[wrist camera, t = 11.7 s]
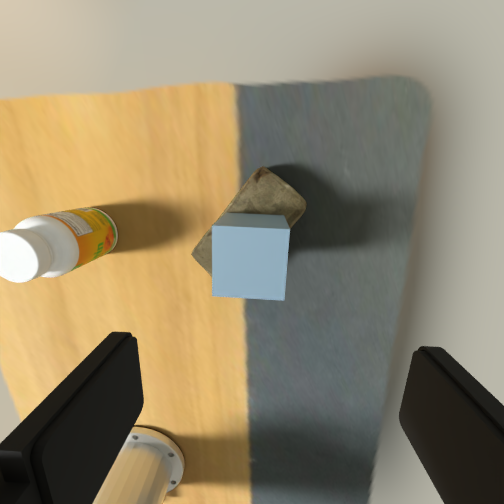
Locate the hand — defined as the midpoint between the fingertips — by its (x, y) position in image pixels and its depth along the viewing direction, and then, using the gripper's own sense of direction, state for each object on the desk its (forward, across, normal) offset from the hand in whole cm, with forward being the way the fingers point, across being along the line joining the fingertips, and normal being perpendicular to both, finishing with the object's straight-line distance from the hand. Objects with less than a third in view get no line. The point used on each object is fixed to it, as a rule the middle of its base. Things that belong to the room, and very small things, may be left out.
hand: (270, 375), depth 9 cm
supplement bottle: (+20, +19, 0) cm, 27 cm away
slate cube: (+15, +1, -1) cm, 15 cm away
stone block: (+20, +2, -2) cm, 20 cm away
